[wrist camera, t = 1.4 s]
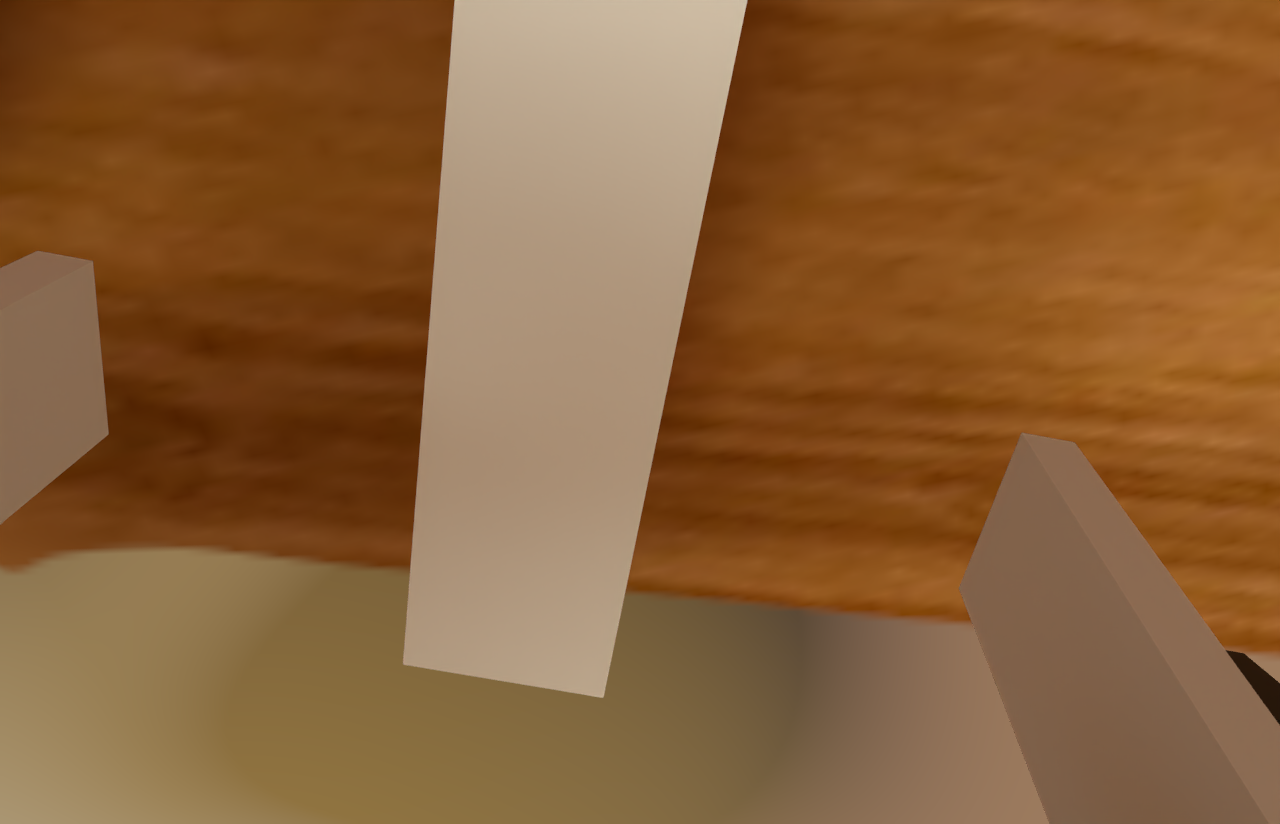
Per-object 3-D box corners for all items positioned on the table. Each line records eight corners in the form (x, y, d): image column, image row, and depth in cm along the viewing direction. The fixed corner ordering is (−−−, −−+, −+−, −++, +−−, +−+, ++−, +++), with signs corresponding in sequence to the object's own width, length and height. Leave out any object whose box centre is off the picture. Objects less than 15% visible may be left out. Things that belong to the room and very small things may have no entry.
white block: (631, 452, 28) (603, 698, 19) (496, 428, 28) (402, 664, 19) (734, -81, 22) (765, -89, 13) (560, -114, 21) (466, -147, 13)
